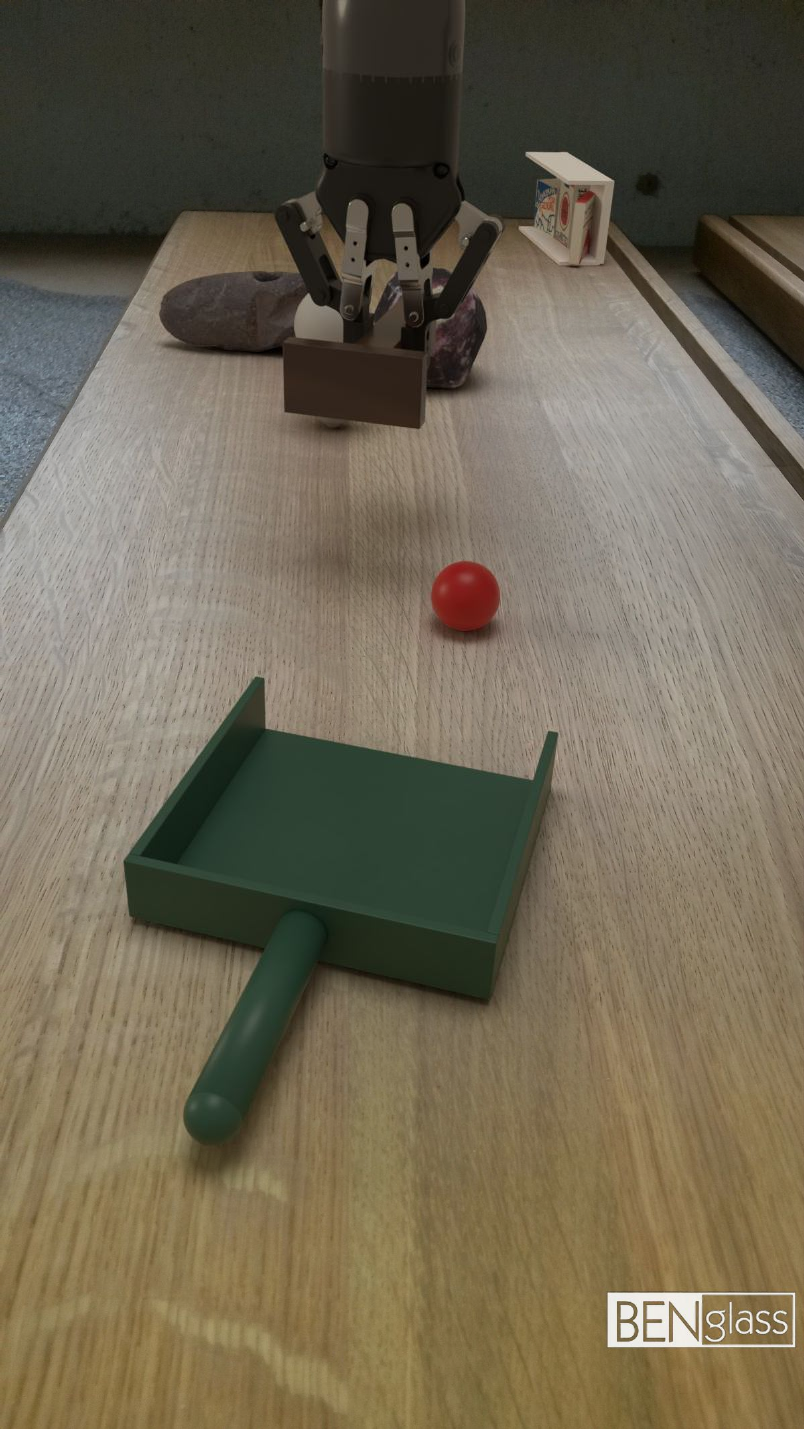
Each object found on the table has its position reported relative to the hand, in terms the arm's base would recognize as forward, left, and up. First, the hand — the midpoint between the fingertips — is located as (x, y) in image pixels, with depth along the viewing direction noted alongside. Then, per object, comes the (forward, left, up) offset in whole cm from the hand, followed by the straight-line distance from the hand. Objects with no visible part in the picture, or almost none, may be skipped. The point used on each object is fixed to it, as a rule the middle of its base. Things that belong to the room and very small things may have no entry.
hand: (385, 379), depth 74 cm
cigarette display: (+2, -88, -11) cm, 89 cm away
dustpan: (-8, +36, -11) cm, 38 cm away
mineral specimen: (+5, -33, -11) cm, 35 cm away
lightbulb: (+9, -19, -11) cm, 23 cm away
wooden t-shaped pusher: (0, -1, 0) cm, 1 cm away
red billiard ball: (-8, +9, -9) cm, 15 cm away
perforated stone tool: (+23, -35, -11) cm, 43 cm away
